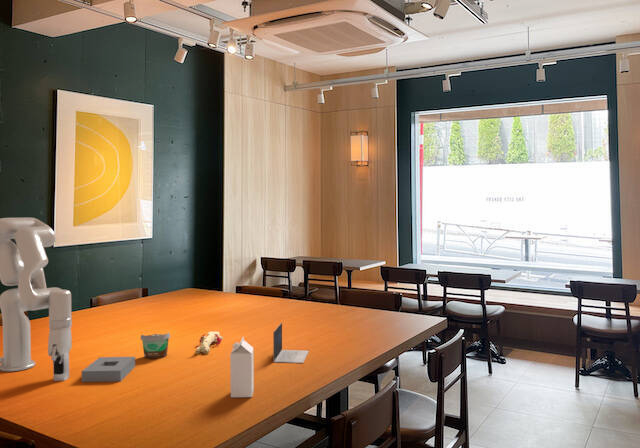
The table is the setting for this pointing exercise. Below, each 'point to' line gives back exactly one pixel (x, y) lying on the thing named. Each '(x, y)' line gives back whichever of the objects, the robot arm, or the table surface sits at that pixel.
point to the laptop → (285, 355)
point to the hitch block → (108, 369)
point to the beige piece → (208, 341)
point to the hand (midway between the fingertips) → (61, 371)
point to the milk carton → (242, 370)
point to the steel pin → (65, 368)
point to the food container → (155, 345)
